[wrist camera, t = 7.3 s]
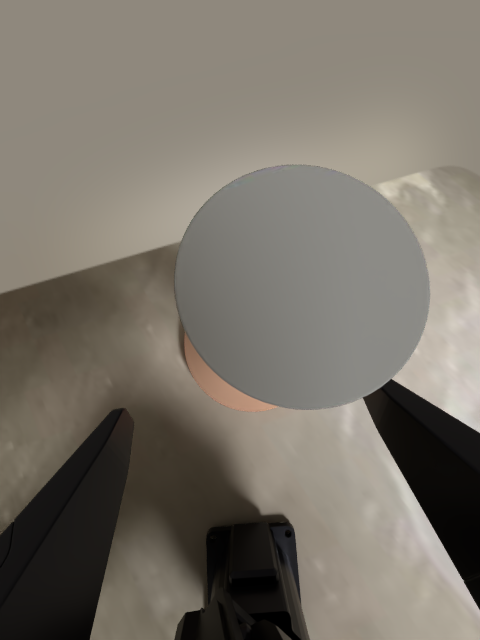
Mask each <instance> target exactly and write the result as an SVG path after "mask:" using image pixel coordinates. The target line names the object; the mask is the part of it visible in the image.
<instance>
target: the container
mask: <svg viewBox="0 0 480 640" xmlns="http://www.w3.org/2000/svg"><path fill="white" fill-rule="evenodd" d="M174 291H175V299H176V305H177V309H178V313H179V317H180V320H181V323H182V325H183V328H184V330H185V332H186V334H187V336H188V338H189V340H190V342H191V344H192V345H193V347H194V348H195V350H196V351H197V353H198V354H199V356H200V357H201V358H202V359H203V361H204V362H205V363H206V364H207V365H208V366H209V367H210V368H211V369H212V370H213V372H215V373H216V374H217V375H218V376H219V377H220V378H221V379H223V380H224V381H225V382H227V383H228V384H229V385H231V386H232V387H234V388H235V389H237V390H239V391H240V392H242V393H244V394H246V395H248V396H250V397H252V398H254V399H257V400H259V401H262V402H265V403H268V404H271V405H275V406H279V407H284V408H290V409H302V410H314V409H326V408H332V407H337V406H341V405H345V404H348V403H351V402H354V401H356V400H358V399H361V398H363V397H365V396H367V395H369V394H371V393H373V392H374V391H376V390H377V389H379V388H380V387H382V386H383V385H384V384H386V383H387V382H388V381H389V380H390V379H392V378H393V377H394V376H395V375H396V374H397V373H398V372H399V371H400V370H401V369H402V367H403V366H404V365H405V364H406V362H407V361H408V360H409V359H410V357H411V355H412V354H413V352H414V350H415V349H416V347H417V345H418V343H419V341H420V339H421V336H422V334H423V331H424V328H425V324H426V321H427V317H428V311H429V302H430V281H429V274H428V269H427V264H426V261H425V257H424V254H423V251H422V249H421V246H420V244H419V242H418V240H417V238H416V236H415V234H414V232H413V230H412V229H411V227H410V226H409V224H408V223H407V221H406V220H405V218H404V217H403V216H402V215H401V214H400V212H399V211H398V210H397V209H396V208H395V207H394V206H393V205H392V204H391V203H390V202H389V201H388V200H387V199H386V198H385V197H383V196H382V195H381V194H380V193H379V192H377V191H376V190H374V189H373V188H371V187H370V186H368V185H367V184H365V183H363V182H362V181H359V180H358V179H355V178H353V177H351V176H349V175H346V174H344V173H341V172H338V171H335V170H332V169H328V168H323V167H318V166H310V165H282V166H275V167H269V168H264V169H261V170H257V171H255V172H252V173H249V174H246V175H244V176H242V177H240V178H238V179H236V180H234V181H232V182H231V183H229V184H228V185H226V186H224V187H223V188H222V189H220V190H219V191H218V192H216V193H215V194H214V195H213V196H212V197H211V198H210V199H209V200H208V201H207V202H206V203H205V204H204V205H203V206H202V207H201V208H200V210H199V211H198V212H197V213H196V215H195V216H194V218H193V219H192V221H191V222H190V224H189V226H188V228H187V230H186V232H185V234H184V236H183V238H182V241H181V244H180V247H179V250H178V254H177V259H176V264H175V273H174Z"/></svg>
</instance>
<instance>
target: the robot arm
mask: <svg viewBox="0 0 480 640" xmlns="http://www.w3.org/2000/svg"><path fill="white" fill-rule="evenodd" d="M363 399H364V401H365V404H366V406H367V408H368V411H369V413H370V415H371V417H372V420H373V422H374V424H375V426H376V428H377V430H378V432H379V434H380V436H381V437H382V439H383V441H384V443H385V444H386V446H387V448H388V450H389V451H390V453H391V455H392V457H393V458H394V460H395V462H396V464H397V465H398V467H399V469H400V471H401V472H402V474H403V476H404V478H405V479H406V481H407V483H408V485H409V486H410V488H411V490H412V492H413V493H414V495H415V497H416V499H417V500H418V502H419V504H420V506H421V507H422V509H423V511H424V513H425V514H426V516H427V518H428V520H429V521H430V523H431V525H432V527H433V528H434V530H435V532H436V534H437V535H438V537H439V539H440V541H441V542H442V544H443V546H444V548H445V550H446V551H447V553H448V555H449V557H450V558H451V560H452V562H453V564H454V565H455V567H456V569H457V571H458V572H459V574H460V576H461V578H462V579H463V580H464V583H465V585H466V587H467V588H468V590H469V592H470V594H471V595H472V597H473V599H474V601H475V602H476V604H477V606H478V608H479V609H480V433H479V432H477V431H476V430H474V429H472V428H471V427H469V426H467V425H466V424H464V423H462V422H461V421H459V420H458V419H456V418H454V417H453V416H451V415H449V414H448V413H446V412H445V411H443V410H441V409H440V408H438V407H436V406H435V405H433V404H431V403H430V402H428V401H427V400H425V399H423V398H422V397H420V396H418V395H417V394H415V393H413V392H412V391H410V390H409V389H407V388H405V387H404V386H402V385H400V384H399V383H397V382H395V381H394V380H392V379H390V380H389V381H388V382H387V383H386V384H384V385H383V386H382V387H380V388H379V389H377V390H376V391H374V392H373V393H371V394H369V395H367V396H365V397H363ZM133 430H134V421H133V419H132V417H131V416H130V414H129V413H128V411H127V410H126V409H125V408H119V409H114V410H112V411H111V412H110V413H109V414H108V415H107V416H106V418H105V419H104V420H103V421H102V422H101V423H100V424H99V425H98V427H97V428H96V429H95V430H94V431H93V432H92V433H91V434H90V436H89V437H88V438H87V439H86V440H85V441H84V442H83V443H82V444H81V446H80V447H79V448H78V449H77V450H76V451H75V452H74V453H73V455H72V456H71V457H70V458H69V459H68V460H67V461H66V462H65V464H64V465H63V466H62V467H61V468H60V469H59V470H58V471H57V472H56V474H55V475H54V476H53V477H52V478H51V479H50V480H49V481H48V483H47V484H46V485H45V486H44V487H43V488H42V489H41V490H40V492H39V493H38V494H37V495H36V496H35V497H34V498H33V499H32V501H31V502H30V503H29V504H28V505H27V506H26V507H25V508H24V509H23V511H22V512H21V513H20V514H19V515H18V516H17V517H16V518H15V520H14V522H12V523H11V524H10V525H9V526H8V527H7V528H6V530H5V531H4V532H3V533H2V534H1V535H0V640H90V635H91V631H92V627H93V622H94V618H95V613H96V609H97V605H98V600H99V596H100V592H101V587H102V583H103V579H104V574H105V570H106V565H107V561H108V557H109V552H110V548H111V544H112V539H113V535H114V531H115V526H116V522H117V517H118V513H119V509H120V504H121V500H122V496H123V491H124V487H125V483H126V478H127V473H128V468H129V462H130V454H131V446H132V438H133ZM286 530H290V533H288V534H286V533H285V531H286ZM212 535H215V536H216V538H215V539H212V538H211V536H212ZM206 546H207V581H208V606H207V608H206V610H204V609H203V608H201V609H200V610H198V611H192V612H186V613H185V614H184V616H183V617H182V619H181V620H180V622H179V624H178V626H177V631H176V635H175V639H174V640H310V639H309V635H308V631H307V627H306V623H305V619H304V615H303V611H302V607H301V598H300V586H299V575H298V563H297V551H296V540H295V532H294V528H293V526H292V524H290V523H288V522H283V523H269V524H267V523H266V522H261V523H247V524H234V525H233V526H226V527H213V528H211V529H209V531H208V533H207V538H206Z"/></svg>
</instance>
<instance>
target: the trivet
mask: <svg viewBox="0 0 480 640" xmlns="http://www.w3.org/2000/svg"><path fill="white" fill-rule="evenodd" d="M184 348H185V356H186V361H187V364H188V367H189V370H190V372H191V374H192V376H193V378H194V379H195V381H196V382H197V384H198V385H199V386H200V387H201V389H202V390H203V391H204V392H205V393H206V394H207V395H209V396H210V397H211V398H212V399H214V400H215V401H217V402H219V403H220V404H222V405H224V406H227V407H229V408H232V409H236V410H240V411H247V412H258V411H265V410H269V409H273V408H276V407H278V406H275V405H271V404H268V403H265V402H262V401H259V400H257V399H254V398H252V397H250V396H248V395H246V394H244V393H242V392H240V391H239V390H237V389H235V388H234V387H232V386H231V385H229V384H228V383H227V382H225V381H224V380H223V379H221V378H220V377H219V376H218V375H217V374H216V373H215V372H213V370H212V369H211V368H210V367H209V366H208V365H207V364H206V363H205V362H204V361H203V359H202V358H201V357H200V356H199V354H198V353H197V351H196V350H195V348H194V347H193V345H192V344H191V342H190V340H189V338H188V336H187V334H186V332H185V338H184Z"/></svg>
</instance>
